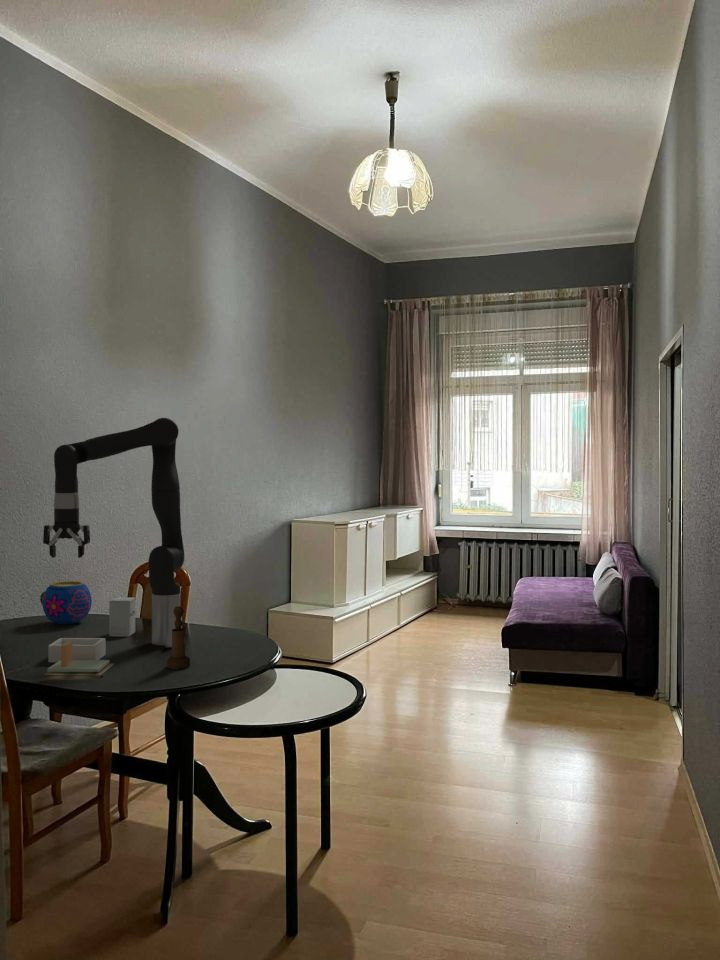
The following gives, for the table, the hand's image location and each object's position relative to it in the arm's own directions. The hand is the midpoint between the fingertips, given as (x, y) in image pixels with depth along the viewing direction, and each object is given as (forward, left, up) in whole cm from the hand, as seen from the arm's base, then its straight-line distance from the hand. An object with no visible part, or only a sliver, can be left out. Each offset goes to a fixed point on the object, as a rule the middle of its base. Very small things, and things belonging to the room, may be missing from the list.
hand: (66, 557), depth 261 cm
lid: (-13, +27, -28) cm, 41 cm away
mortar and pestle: (-40, +20, -30) cm, 54 cm away
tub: (-8, +14, -30) cm, 34 cm away
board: (-13, +27, -30) cm, 42 cm away
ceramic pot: (+15, -43, -30) cm, 55 cm away
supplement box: (-11, -24, -30) cm, 40 cm away
